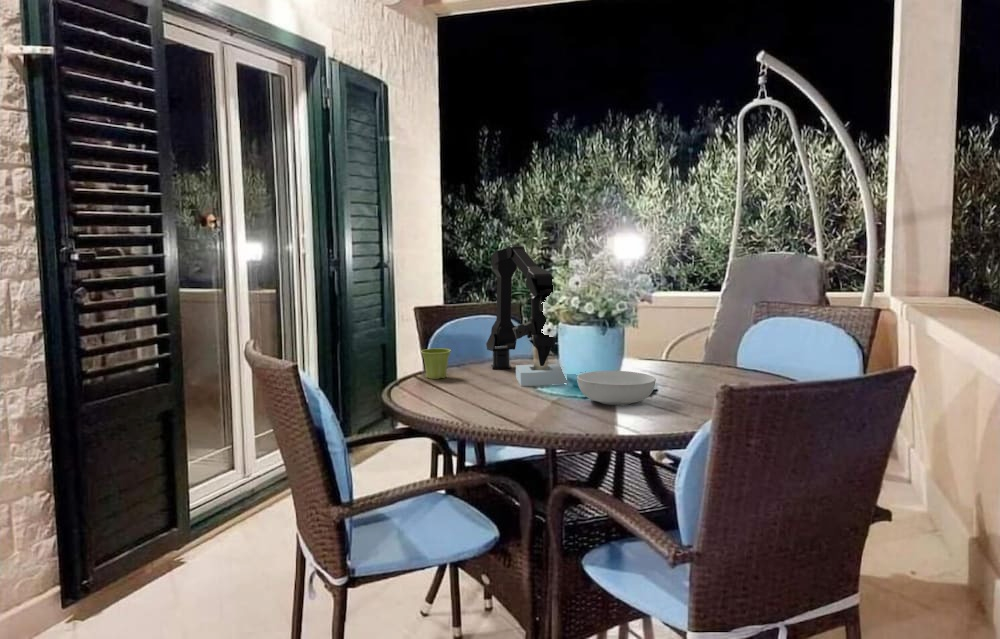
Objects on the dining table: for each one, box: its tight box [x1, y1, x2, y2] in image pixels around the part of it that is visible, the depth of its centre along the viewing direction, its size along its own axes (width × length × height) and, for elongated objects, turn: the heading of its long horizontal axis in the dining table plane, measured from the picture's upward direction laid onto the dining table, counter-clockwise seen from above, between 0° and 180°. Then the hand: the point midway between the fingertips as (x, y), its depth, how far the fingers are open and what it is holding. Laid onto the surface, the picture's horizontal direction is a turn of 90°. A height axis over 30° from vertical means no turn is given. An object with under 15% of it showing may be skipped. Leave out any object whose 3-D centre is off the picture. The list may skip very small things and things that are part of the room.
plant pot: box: [420, 348, 452, 380], centre depth 253 cm, size 9×9×9 cm
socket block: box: [515, 363, 568, 387], centre depth 245 cm, size 14×14×4 cm
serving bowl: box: [576, 370, 657, 406], centre depth 214 cm, size 21×21×7 cm
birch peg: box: [533, 346, 549, 370], centre depth 244 cm, size 4×4×8 cm
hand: (540, 364), depth 244 cm, fingers closed on birch peg, 4 cm apart
